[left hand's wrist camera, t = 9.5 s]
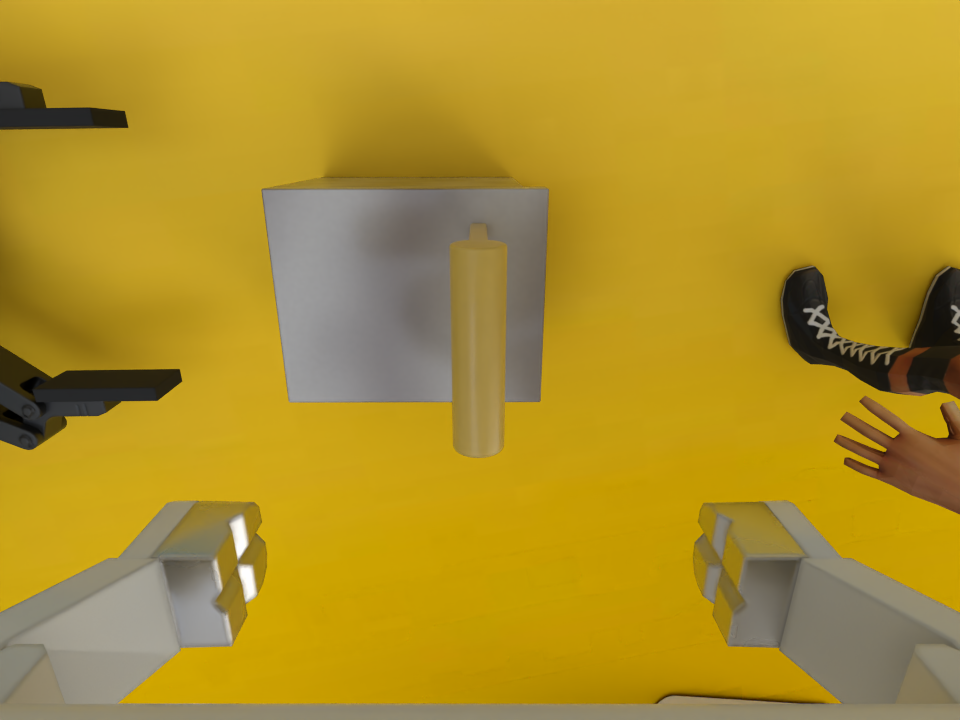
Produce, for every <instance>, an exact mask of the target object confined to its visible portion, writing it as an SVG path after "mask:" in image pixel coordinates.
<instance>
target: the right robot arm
mask: <svg viewBox="0 0 960 720" xmlns="http://www.w3.org/2000/svg"><path fill="white" fill-rule="evenodd" d="M76 128H128V124H127V119H126V114H125V111H118V110H108V109H98V108H46V105H45V101H44V97H43V93H42V89H39V88H36V87H34V86H31V85H26V84H19V83H12V82H0V130H6V129H76ZM181 382H182V378H181V373H180V369H156V370H80V371H65V372H63V373H62V374H60V375H58V376H56V377H54V378H51V377H50V376H48V375H47V374H45V373H43V372H42V371H40V370H39V369H37V368H35V367H34V366H32V365H31V364H29V363H27V362H26V361H24V360H23V359H21V358H19V357H18V356H16V355H15V354H13V353H11V352H10V351H8V350H7V349H5V348H3V347H2V346H0V440H2V441H4V442H7V443H10V444H12V445H15V446H18V447H20V448H23V449H27V450H31V449H34V448H36V447H37V446H39V445H40V444H42V443H43V442H45V441H46V440H48V439H49V438H51V437H52V436H53V435H55V434H56V433H58V432H59V431H61V430H62V429H64V428H65V427H66V425H67V421H66V419H65V417H64V416H99V415H101V414H104V413H106V412H108V411H109V410H110V409H112V408H113V407H115V406H116V405H117V404H119V403H120V402H121V401H158V400H159V399H160V398H162V397H163V396H164V395H165V394H167V393H168V392H169V391H170V390H172V389H173V388H174V387H175V386H177V385H178V384H179V383H181Z"/></svg>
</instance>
